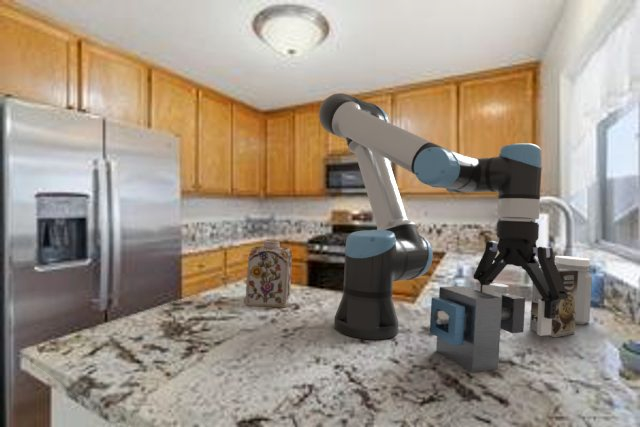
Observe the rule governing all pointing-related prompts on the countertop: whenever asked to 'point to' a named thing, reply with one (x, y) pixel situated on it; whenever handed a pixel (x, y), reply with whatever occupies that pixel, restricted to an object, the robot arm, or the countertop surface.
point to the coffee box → (559, 306)
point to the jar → (579, 284)
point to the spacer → (455, 321)
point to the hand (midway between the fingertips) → (513, 323)
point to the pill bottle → (500, 289)
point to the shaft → (509, 314)
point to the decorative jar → (269, 275)
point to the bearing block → (474, 329)
